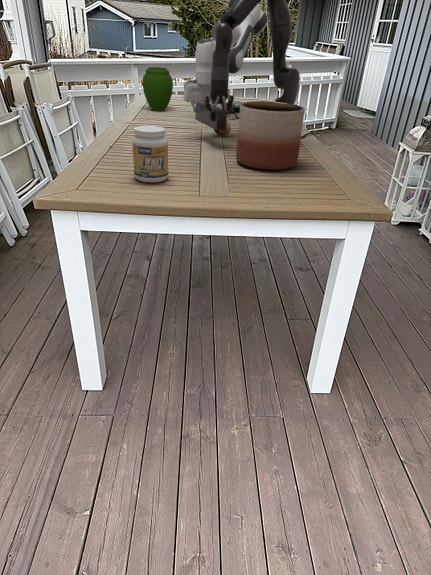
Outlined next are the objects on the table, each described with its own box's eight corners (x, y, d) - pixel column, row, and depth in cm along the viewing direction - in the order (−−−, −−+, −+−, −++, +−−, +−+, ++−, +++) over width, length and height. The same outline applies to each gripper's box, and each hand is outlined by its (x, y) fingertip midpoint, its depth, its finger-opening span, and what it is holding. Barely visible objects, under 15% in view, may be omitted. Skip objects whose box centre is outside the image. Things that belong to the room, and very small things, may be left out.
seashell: (229, 134, 215) (230, 118, 210) (231, 136, 210) (232, 120, 206) (212, 134, 213) (212, 117, 209) (213, 136, 209) (214, 119, 204)
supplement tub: (139, 184, 140) (136, 133, 131) (130, 174, 149) (127, 125, 140) (173, 181, 144) (172, 131, 135) (162, 172, 153) (161, 124, 144)
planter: (305, 172, 161) (315, 112, 150) (243, 172, 157) (248, 110, 146) (285, 155, 183) (293, 101, 171) (230, 155, 178) (233, 100, 167)
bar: (195, 119, 201) (195, 101, 197) (204, 119, 203) (204, 101, 198) (216, 130, 181) (217, 111, 177) (225, 129, 183) (226, 110, 179)
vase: (143, 107, 275) (142, 66, 262) (173, 108, 277) (172, 67, 264) (142, 112, 259) (140, 68, 246) (173, 113, 261) (173, 70, 248)
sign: (225, 107, 272) (224, 100, 297) (225, 111, 274) (224, 105, 299) (253, 108, 272) (250, 101, 298) (253, 113, 274) (250, 106, 299)
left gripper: (186, 80, 183) (186, 113, 190) (227, 80, 190) (225, 112, 198) (181, 78, 188) (181, 111, 195) (221, 78, 195) (220, 110, 203)
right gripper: (207, 79, 169) (206, 122, 178) (238, 79, 174) (236, 121, 183) (200, 77, 175) (200, 119, 184) (231, 77, 180) (228, 118, 189)
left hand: (204, 111), depth 196 cm, fingers open, 8 cm apart
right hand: (218, 120), depth 183 cm, fingers closed on bar, 4 cm apart
